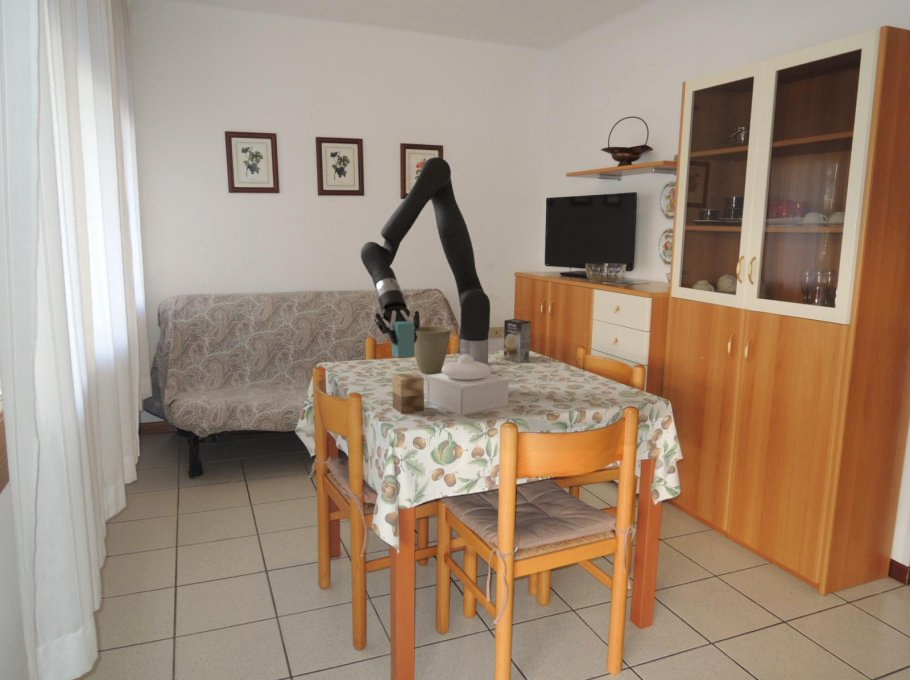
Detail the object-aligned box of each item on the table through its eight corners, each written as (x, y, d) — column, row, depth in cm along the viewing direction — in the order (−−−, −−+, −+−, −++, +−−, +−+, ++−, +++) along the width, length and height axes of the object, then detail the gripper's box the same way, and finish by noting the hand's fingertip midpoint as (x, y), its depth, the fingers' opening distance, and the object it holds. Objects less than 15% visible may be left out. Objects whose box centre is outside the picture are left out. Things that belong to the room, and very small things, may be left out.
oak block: (414, 389, 201) (414, 372, 200) (423, 394, 194) (423, 377, 194) (392, 391, 198) (392, 374, 197) (400, 396, 191) (400, 379, 191)
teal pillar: (408, 353, 199) (407, 320, 197) (414, 357, 195) (414, 322, 193) (392, 355, 197) (391, 321, 195) (398, 358, 192) (397, 324, 191)
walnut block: (414, 405, 202) (414, 389, 201) (423, 411, 195) (423, 394, 194) (392, 407, 198) (392, 391, 198) (401, 413, 192) (401, 396, 191)
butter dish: (472, 395, 214) (473, 346, 212) (509, 407, 200) (510, 355, 197) (426, 403, 204) (426, 351, 201) (461, 417, 190) (462, 362, 187)
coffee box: (502, 359, 270) (503, 319, 267) (513, 357, 274) (514, 318, 271) (519, 363, 263) (520, 322, 260) (530, 360, 267) (531, 321, 265)
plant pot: (452, 368, 253) (452, 326, 250) (448, 377, 238) (448, 332, 235) (413, 366, 254) (413, 325, 251) (406, 375, 239) (406, 331, 237)
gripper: (370, 290, 196) (385, 336, 187) (415, 287, 202) (432, 333, 194) (364, 306, 202) (379, 352, 193) (409, 303, 208) (424, 348, 199)
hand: (405, 342), depth 193 cm, fingers closed on teal pillar, 5 cm apart
